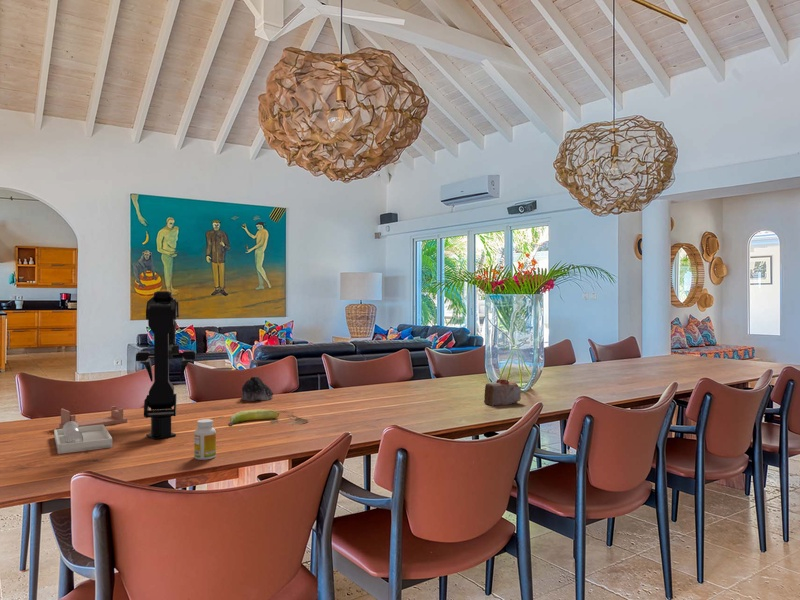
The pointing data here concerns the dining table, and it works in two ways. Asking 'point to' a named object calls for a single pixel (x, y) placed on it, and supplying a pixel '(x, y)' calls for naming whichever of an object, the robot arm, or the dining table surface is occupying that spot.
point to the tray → (84, 439)
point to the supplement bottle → (204, 440)
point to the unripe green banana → (261, 416)
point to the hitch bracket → (114, 419)
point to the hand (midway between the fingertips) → (166, 380)
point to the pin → (72, 432)
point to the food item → (502, 393)
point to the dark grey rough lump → (256, 390)
